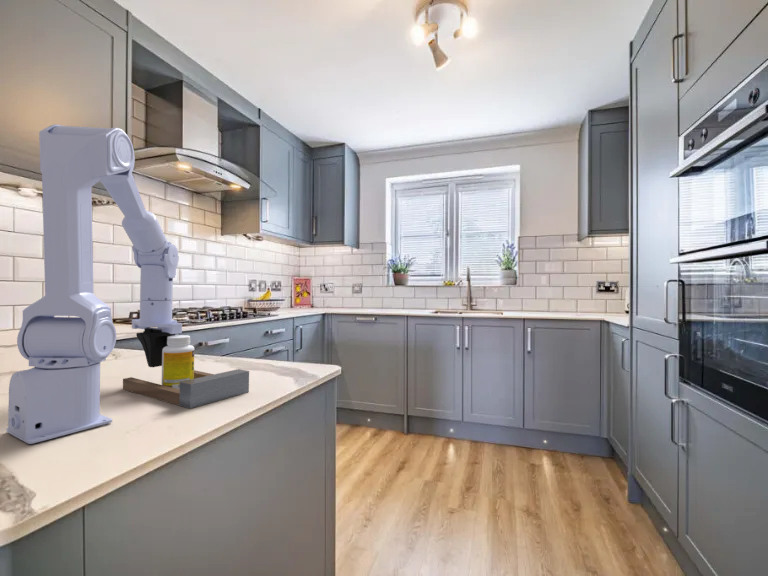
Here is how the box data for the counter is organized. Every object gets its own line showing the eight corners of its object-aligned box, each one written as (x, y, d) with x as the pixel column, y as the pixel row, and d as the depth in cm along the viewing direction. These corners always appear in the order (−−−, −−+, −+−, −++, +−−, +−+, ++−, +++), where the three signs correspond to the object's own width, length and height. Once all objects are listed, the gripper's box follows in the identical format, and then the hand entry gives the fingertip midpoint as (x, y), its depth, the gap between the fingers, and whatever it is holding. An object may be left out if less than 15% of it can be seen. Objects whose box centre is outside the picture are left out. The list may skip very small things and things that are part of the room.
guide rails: (179, 405, 65) (179, 393, 65) (122, 389, 74) (122, 378, 74) (238, 389, 75) (238, 379, 75) (182, 376, 84) (182, 367, 84)
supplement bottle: (197, 389, 75) (198, 337, 75) (164, 394, 71) (165, 339, 71) (190, 383, 79) (190, 333, 79) (159, 387, 75) (160, 335, 75)
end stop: (190, 408, 63) (190, 384, 63) (179, 405, 65) (179, 381, 65) (248, 391, 74) (249, 371, 74) (238, 389, 75) (238, 369, 75)
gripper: (196, 300, 79) (195, 367, 79) (155, 298, 86) (154, 359, 86) (162, 301, 72) (160, 373, 73) (121, 298, 80) (120, 364, 80)
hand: (155, 366), depth 79 cm, fingers closed
